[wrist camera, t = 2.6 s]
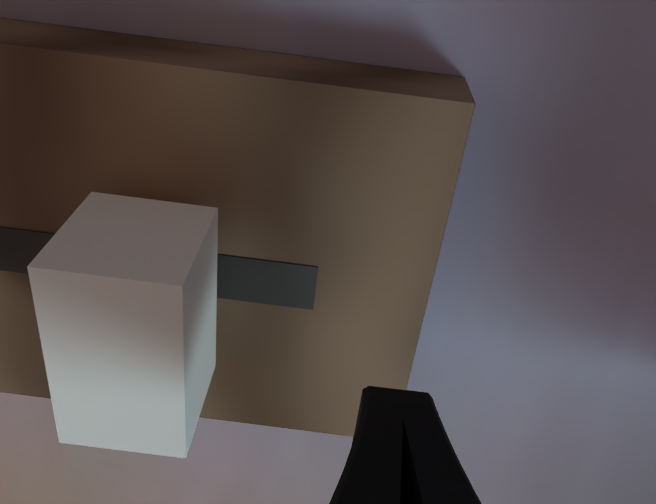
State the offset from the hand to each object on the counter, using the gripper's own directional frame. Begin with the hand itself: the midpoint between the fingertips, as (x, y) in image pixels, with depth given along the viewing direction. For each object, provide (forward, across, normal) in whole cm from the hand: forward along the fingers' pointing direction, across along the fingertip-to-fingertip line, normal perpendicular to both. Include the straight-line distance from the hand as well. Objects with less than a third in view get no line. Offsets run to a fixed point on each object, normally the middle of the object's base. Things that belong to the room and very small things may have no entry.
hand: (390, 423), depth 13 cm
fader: (+4, +6, 0) cm, 7 cm away
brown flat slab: (+6, +9, 0) cm, 11 cm away
